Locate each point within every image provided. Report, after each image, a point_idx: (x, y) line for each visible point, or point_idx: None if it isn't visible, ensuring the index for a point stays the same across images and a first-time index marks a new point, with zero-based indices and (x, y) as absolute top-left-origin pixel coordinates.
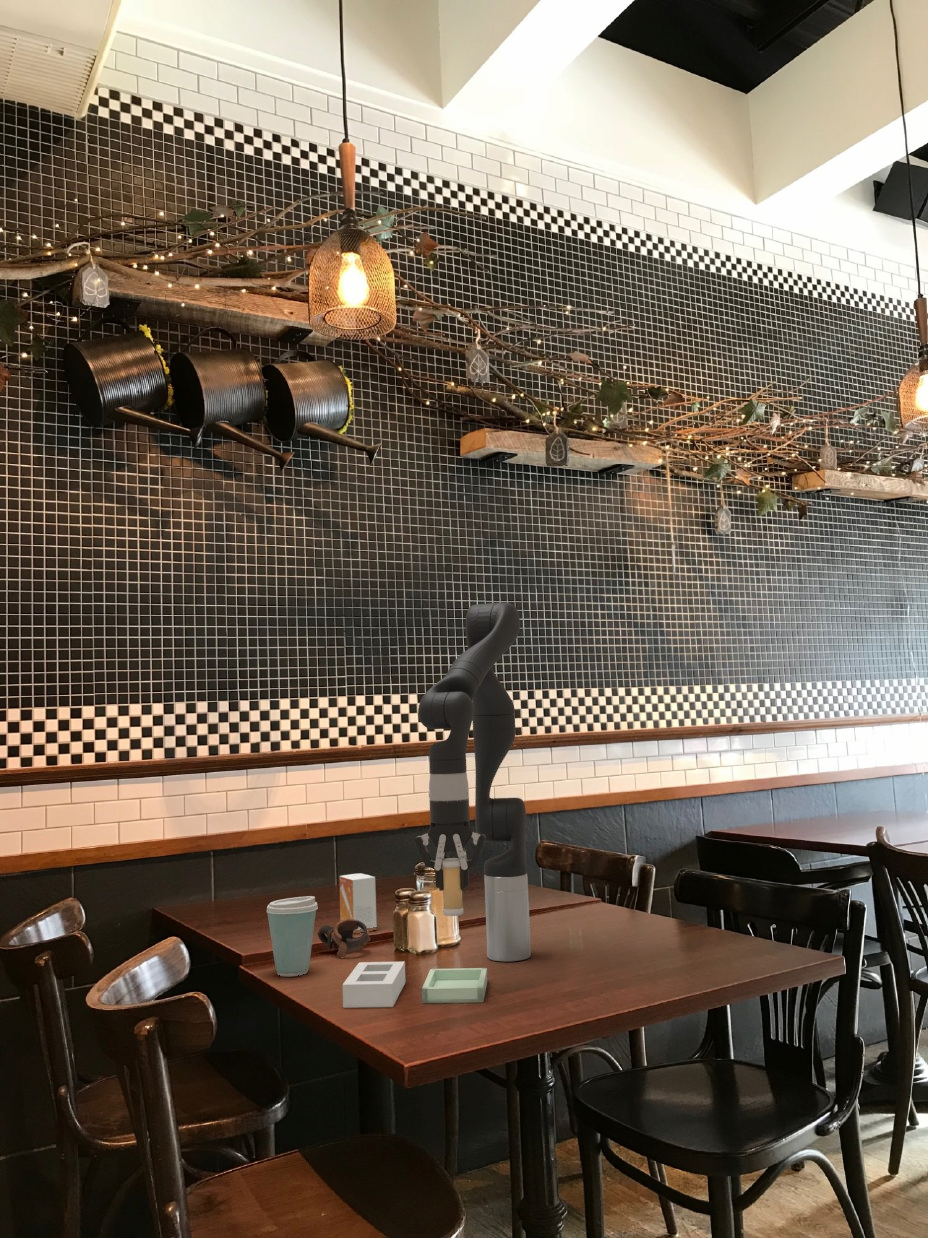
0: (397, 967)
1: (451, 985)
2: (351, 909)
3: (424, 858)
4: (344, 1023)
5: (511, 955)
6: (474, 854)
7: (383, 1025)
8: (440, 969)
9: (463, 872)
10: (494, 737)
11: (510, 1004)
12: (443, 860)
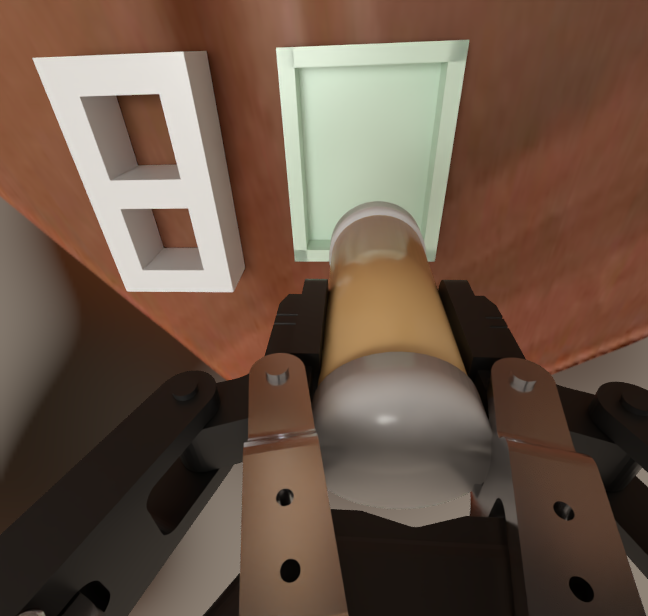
0: (189, 139)
1: (351, 130)
2: None
3: (166, 505)
4: (193, 341)
5: None
6: (639, 557)
7: (260, 352)
8: (310, 58)
9: None
10: None
11: (486, 260)
12: (329, 482)
